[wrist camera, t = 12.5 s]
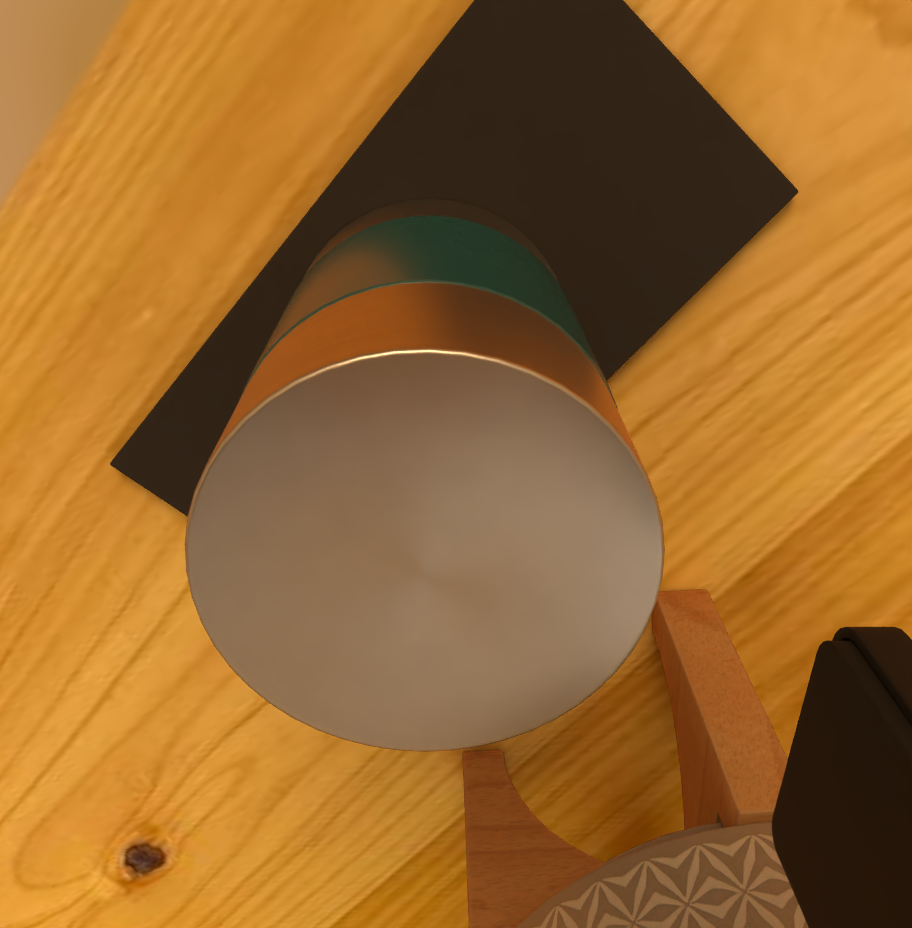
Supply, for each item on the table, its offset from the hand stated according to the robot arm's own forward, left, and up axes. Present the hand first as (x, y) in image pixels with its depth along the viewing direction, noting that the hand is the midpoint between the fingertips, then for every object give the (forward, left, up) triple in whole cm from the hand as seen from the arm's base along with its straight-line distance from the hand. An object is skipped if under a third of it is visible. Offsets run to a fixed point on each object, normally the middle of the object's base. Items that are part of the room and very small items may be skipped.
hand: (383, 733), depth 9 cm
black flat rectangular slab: (0, 0, -13) cm, 13 cm away
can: (0, 0, -13) cm, 13 cm away
